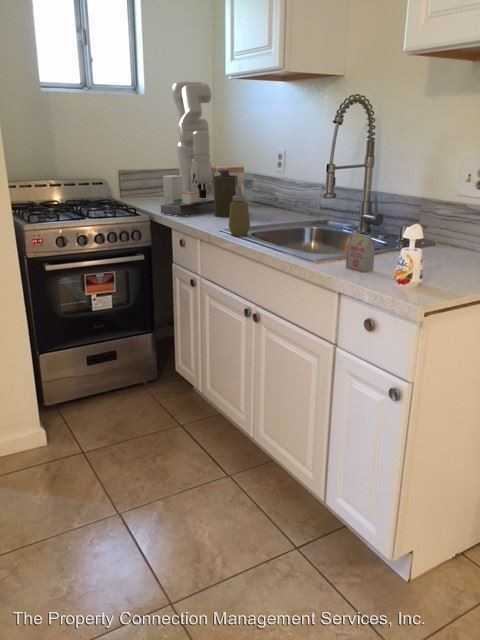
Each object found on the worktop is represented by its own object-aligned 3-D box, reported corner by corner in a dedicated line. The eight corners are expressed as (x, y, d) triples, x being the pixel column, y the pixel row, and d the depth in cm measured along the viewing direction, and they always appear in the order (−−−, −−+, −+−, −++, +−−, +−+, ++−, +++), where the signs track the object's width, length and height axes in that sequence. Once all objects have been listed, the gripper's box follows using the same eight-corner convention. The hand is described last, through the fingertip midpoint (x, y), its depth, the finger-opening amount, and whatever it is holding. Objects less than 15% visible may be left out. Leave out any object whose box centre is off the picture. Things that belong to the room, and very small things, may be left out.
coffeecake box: (243, 204, 286) (243, 165, 280) (244, 205, 280) (244, 166, 273) (215, 204, 286) (214, 165, 280) (215, 206, 279) (214, 166, 273)
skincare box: (172, 208, 272) (171, 176, 267) (163, 207, 276) (161, 176, 271) (184, 206, 278) (183, 175, 273) (175, 205, 282) (173, 174, 277)
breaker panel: (198, 208, 273) (198, 197, 272) (218, 210, 264) (218, 199, 262) (161, 213, 257) (160, 202, 255) (180, 216, 248) (180, 205, 246)
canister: (216, 217, 244) (215, 171, 238) (212, 214, 254) (210, 169, 247) (239, 216, 247) (239, 170, 240) (234, 213, 256) (234, 169, 250)
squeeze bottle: (248, 237, 200) (248, 187, 194) (226, 236, 201) (225, 186, 195) (251, 233, 207) (251, 184, 201) (230, 232, 209) (230, 184, 203)
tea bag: (355, 266, 158) (357, 231, 155) (373, 270, 153) (375, 235, 150) (346, 268, 156) (347, 233, 153) (363, 272, 151) (366, 236, 148)
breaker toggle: (188, 202, 262) (188, 191, 261) (197, 203, 258) (196, 192, 257) (182, 202, 260) (181, 192, 258) (190, 204, 256) (190, 193, 254)
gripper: (207, 157, 266) (208, 196, 272) (184, 159, 256) (186, 198, 261) (218, 158, 261) (219, 197, 267) (195, 159, 251) (196, 200, 257)
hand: (202, 197), depth 264 cm, fingers closed
